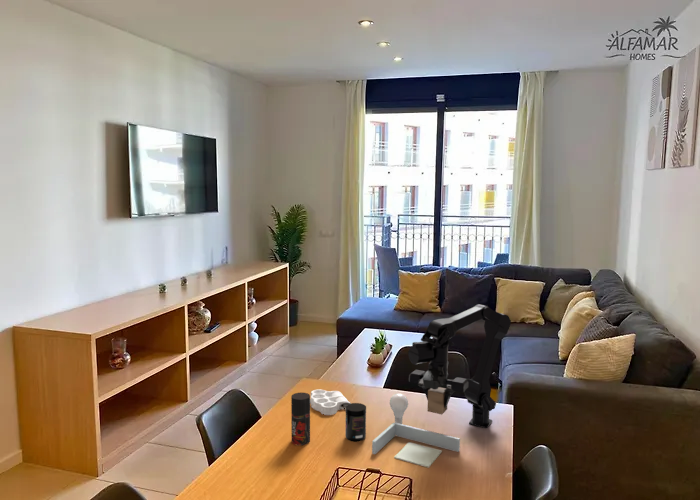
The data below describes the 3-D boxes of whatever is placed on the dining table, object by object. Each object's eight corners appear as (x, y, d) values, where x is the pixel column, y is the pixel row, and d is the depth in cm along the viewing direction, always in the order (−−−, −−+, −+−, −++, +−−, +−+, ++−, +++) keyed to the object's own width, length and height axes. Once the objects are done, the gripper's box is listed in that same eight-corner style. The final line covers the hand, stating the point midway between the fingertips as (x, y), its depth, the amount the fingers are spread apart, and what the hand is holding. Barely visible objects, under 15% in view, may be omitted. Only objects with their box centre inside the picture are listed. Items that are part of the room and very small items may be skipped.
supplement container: (359, 431, 174) (360, 401, 173) (369, 440, 168) (370, 409, 167) (341, 435, 171) (341, 405, 170) (351, 444, 165) (351, 412, 164)
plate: (409, 443, 166) (409, 441, 166) (441, 451, 160) (441, 450, 160) (394, 458, 156) (394, 456, 156) (428, 467, 151) (428, 466, 151)
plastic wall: (393, 433, 172) (393, 422, 172) (459, 450, 161) (459, 438, 161) (372, 453, 159) (372, 441, 159) (442, 473, 148) (442, 460, 147)
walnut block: (433, 406, 175) (433, 386, 174) (447, 409, 172) (447, 388, 171) (427, 411, 170) (428, 390, 170) (442, 414, 168) (442, 393, 167)
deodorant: (313, 439, 168) (313, 394, 167) (304, 446, 163) (304, 400, 161) (297, 435, 171) (297, 391, 169) (288, 443, 165) (287, 397, 164)
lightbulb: (406, 429, 175) (407, 398, 174) (388, 427, 177) (388, 396, 175) (408, 421, 182) (409, 391, 180) (390, 420, 183) (390, 389, 182)
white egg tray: (354, 412, 190) (315, 418, 185) (338, 394, 207) (302, 399, 202) (354, 403, 190) (315, 409, 185) (338, 386, 206) (302, 391, 201)
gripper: (402, 361, 167) (401, 408, 169) (458, 371, 158) (457, 421, 159) (415, 352, 177) (414, 396, 178) (469, 361, 167) (468, 408, 169)
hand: (437, 405), depth 171 cm, fingers closed on walnut block, 5 cm apart
